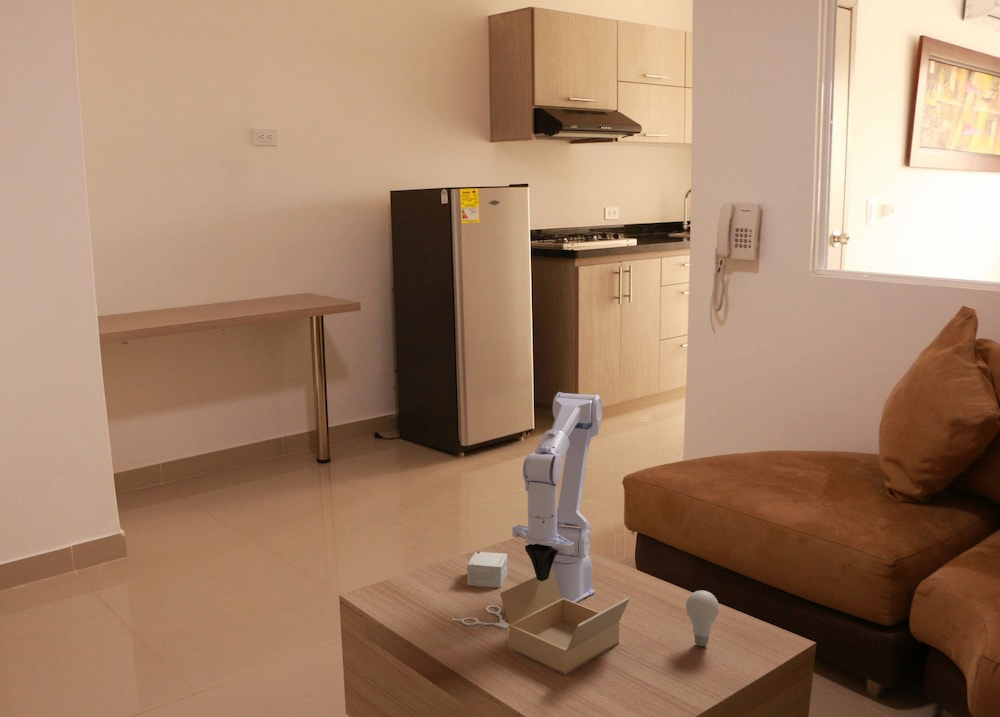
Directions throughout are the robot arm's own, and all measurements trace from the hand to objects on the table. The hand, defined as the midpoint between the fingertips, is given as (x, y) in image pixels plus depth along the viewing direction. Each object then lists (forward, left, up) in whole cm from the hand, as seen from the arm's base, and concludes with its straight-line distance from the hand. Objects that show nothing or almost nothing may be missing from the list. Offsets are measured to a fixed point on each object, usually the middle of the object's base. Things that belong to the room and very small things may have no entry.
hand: (542, 579), depth 177 cm
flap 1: (+3, 0, -3) cm, 4 cm away
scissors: (+5, -6, -11) cm, 14 cm away
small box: (-9, -24, -11) cm, 28 cm away
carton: (+3, +8, -10) cm, 13 cm away
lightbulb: (-15, +27, -11) cm, 33 cm away
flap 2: (+3, +16, -3) cm, 17 cm away
